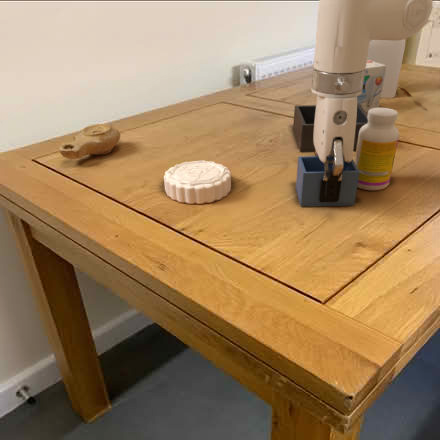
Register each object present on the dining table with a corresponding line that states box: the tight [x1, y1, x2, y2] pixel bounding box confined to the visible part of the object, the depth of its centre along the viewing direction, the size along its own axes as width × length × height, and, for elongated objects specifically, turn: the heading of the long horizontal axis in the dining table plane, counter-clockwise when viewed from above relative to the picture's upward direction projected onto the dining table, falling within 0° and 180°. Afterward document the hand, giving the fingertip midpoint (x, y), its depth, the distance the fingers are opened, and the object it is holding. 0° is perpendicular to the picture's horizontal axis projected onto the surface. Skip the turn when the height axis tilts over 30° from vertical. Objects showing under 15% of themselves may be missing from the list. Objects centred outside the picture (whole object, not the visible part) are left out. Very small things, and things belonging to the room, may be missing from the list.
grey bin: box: [292, 104, 368, 153], centre depth 101 cm, size 15×14×6 cm
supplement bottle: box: [353, 107, 400, 191], centre depth 81 cm, size 7×7×13 cm
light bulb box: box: [357, 60, 386, 114], centre depth 116 cm, size 11×7×11 cm, turn 114°
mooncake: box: [163, 159, 232, 205], centre depth 84 cm, size 12×12×4 cm
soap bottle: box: [367, 39, 407, 99], centre depth 121 cm, size 11×8×27 cm
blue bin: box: [295, 155, 360, 208], centre depth 79 cm, size 9×7×6 cm
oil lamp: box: [58, 123, 121, 160], centre depth 98 cm, size 11×14×5 cm
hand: (324, 190), depth 80 cm, fingers closed on blue bin, 7 cm apart
